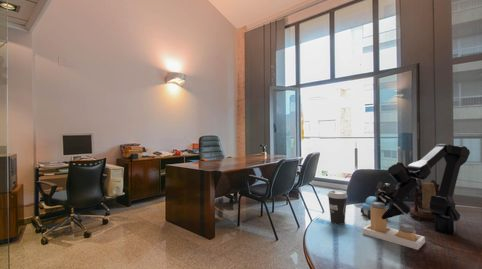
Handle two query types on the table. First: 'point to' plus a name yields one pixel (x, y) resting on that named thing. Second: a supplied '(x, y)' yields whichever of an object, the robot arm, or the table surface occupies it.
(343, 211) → the coffee cup
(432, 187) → the scroll
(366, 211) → the toy excavator
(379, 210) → the knob-topped wooden post
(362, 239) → the table surface
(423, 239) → the housing
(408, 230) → the grey and tan piece
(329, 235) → the table surface
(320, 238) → the table surface
